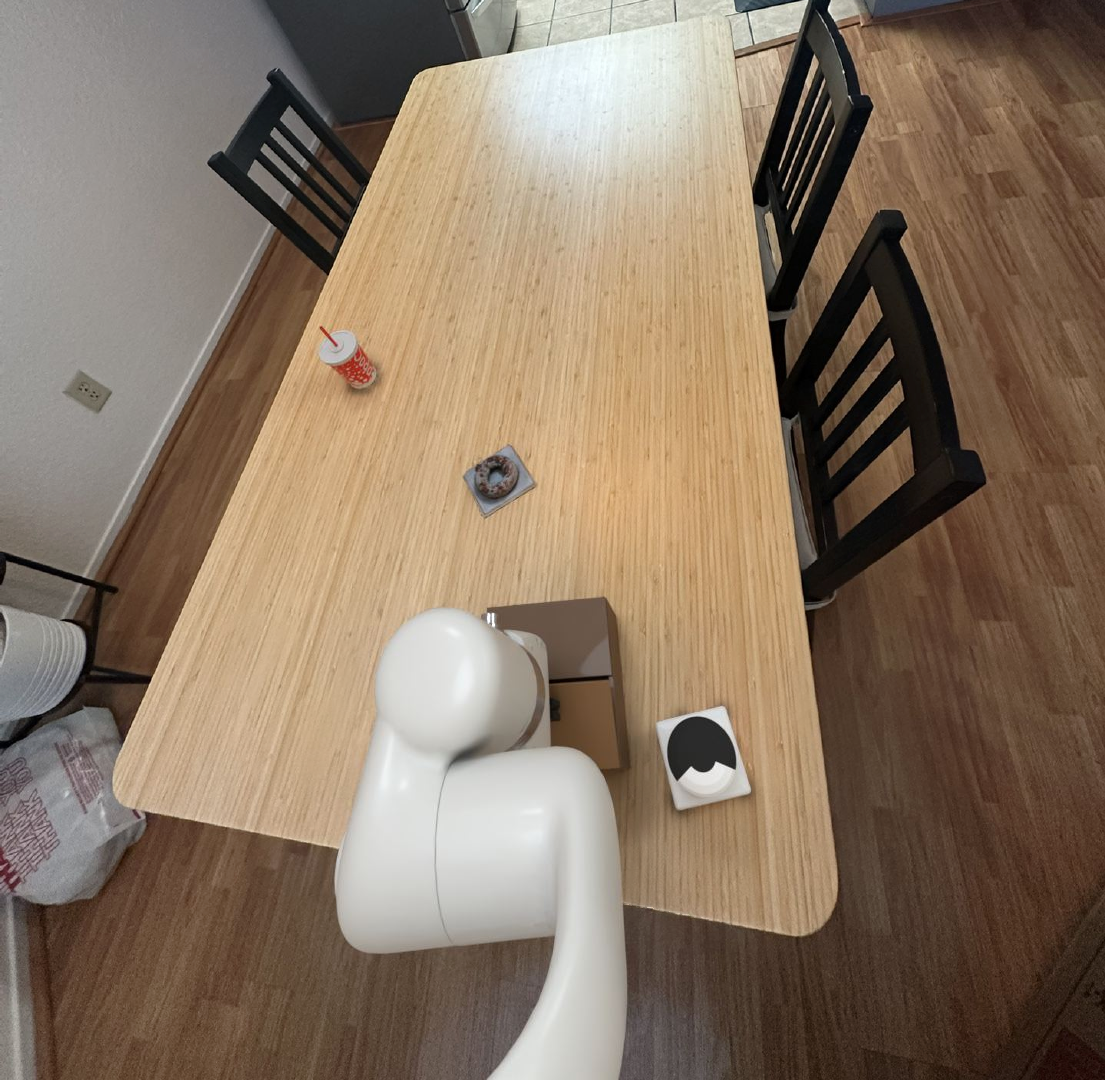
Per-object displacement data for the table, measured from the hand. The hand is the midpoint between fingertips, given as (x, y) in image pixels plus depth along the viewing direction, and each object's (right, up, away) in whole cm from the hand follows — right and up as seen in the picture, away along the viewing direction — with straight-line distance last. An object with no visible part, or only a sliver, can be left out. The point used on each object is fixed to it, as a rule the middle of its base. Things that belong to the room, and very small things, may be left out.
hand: (544, 712), depth 59 cm
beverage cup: (-30, +29, +43) cm, 60 cm away
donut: (-7, +15, +28) cm, 33 cm away
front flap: (0, -2, 0) cm, 2 cm away
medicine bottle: (+16, -8, +6) cm, 19 cm away
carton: (+2, -5, +12) cm, 13 cm away
